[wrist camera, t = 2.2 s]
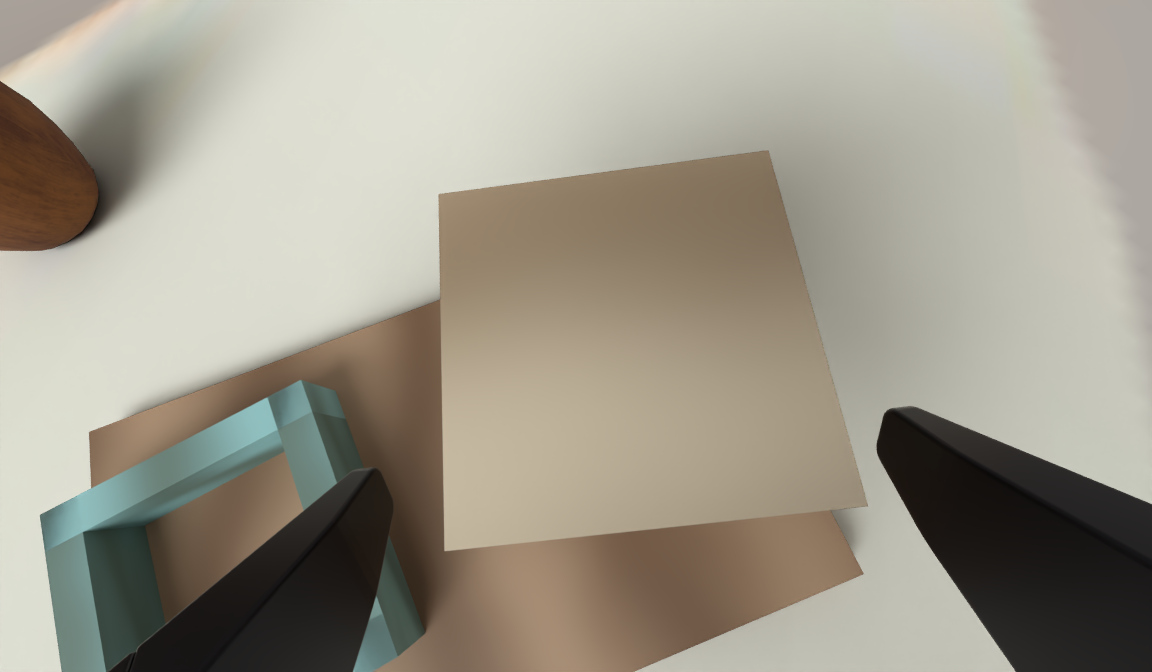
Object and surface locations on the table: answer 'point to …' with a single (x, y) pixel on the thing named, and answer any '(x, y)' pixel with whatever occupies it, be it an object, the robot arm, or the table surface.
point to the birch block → (631, 357)
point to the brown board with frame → (392, 529)
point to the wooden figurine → (40, 179)
